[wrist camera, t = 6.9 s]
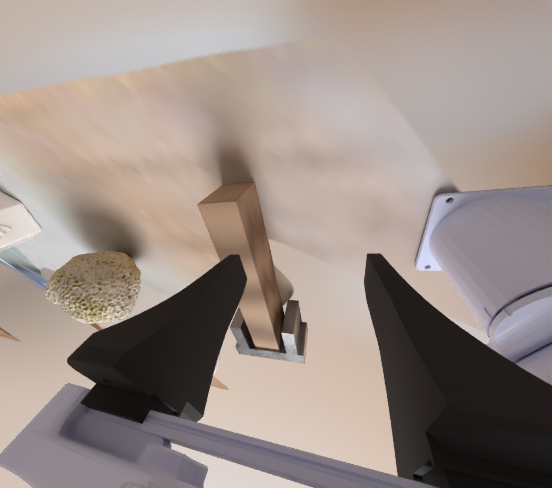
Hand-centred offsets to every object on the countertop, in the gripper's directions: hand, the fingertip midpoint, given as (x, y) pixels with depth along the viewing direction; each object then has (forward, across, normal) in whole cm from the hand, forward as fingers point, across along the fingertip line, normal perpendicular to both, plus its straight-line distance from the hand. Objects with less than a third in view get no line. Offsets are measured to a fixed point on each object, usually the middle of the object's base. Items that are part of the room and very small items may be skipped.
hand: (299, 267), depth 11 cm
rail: (+10, +7, +8) cm, 15 cm away
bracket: (+9, +7, +17) cm, 21 cm away
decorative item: (+10, +28, +7) cm, 30 cm away
